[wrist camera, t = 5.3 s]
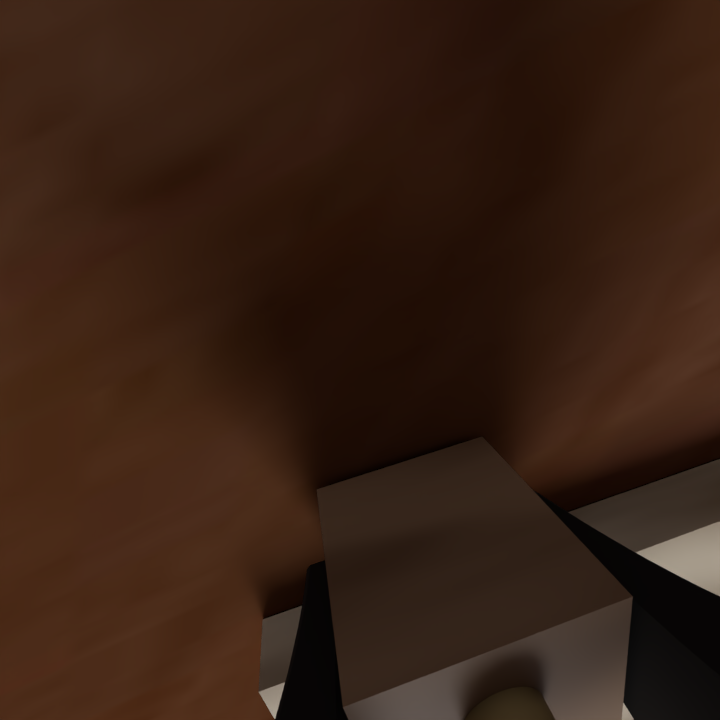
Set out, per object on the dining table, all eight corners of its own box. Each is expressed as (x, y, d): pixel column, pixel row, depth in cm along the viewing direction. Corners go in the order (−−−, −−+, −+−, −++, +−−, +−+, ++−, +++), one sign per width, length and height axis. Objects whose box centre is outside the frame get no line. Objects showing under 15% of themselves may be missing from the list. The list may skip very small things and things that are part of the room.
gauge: (510, 673, 15) (632, 916, 10) (395, 718, 15) (459, 998, 9) (482, 436, 11) (680, 647, 5) (316, 489, 10) (351, 780, 5)
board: (739, 607, 18) (795, 654, 16) (338, 767, 16) (345, 843, 14) (783, 436, 14) (865, 470, 12) (262, 619, 12) (258, 696, 10)
